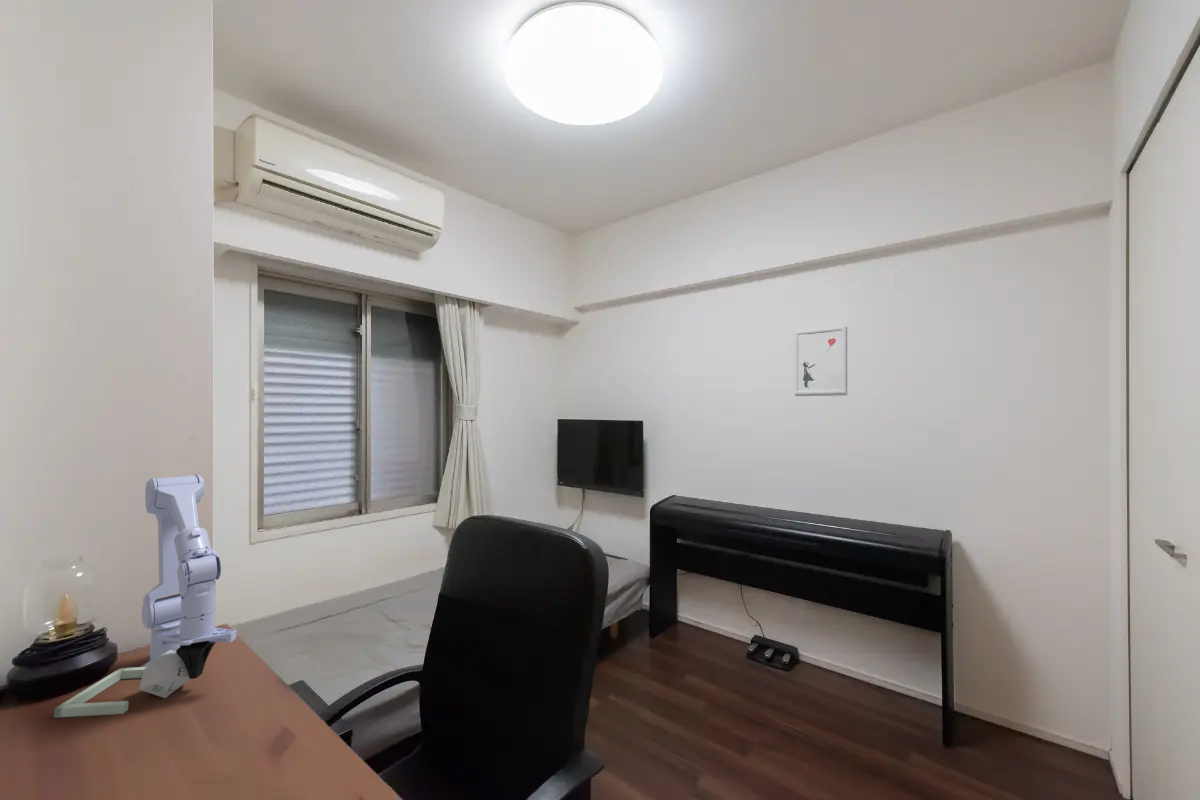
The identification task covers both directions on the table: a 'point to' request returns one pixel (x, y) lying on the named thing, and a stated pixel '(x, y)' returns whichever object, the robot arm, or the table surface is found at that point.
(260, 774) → the table surface
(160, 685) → the die
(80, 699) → the bay
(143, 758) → the table surface
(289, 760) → the table surface
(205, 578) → the robot arm
